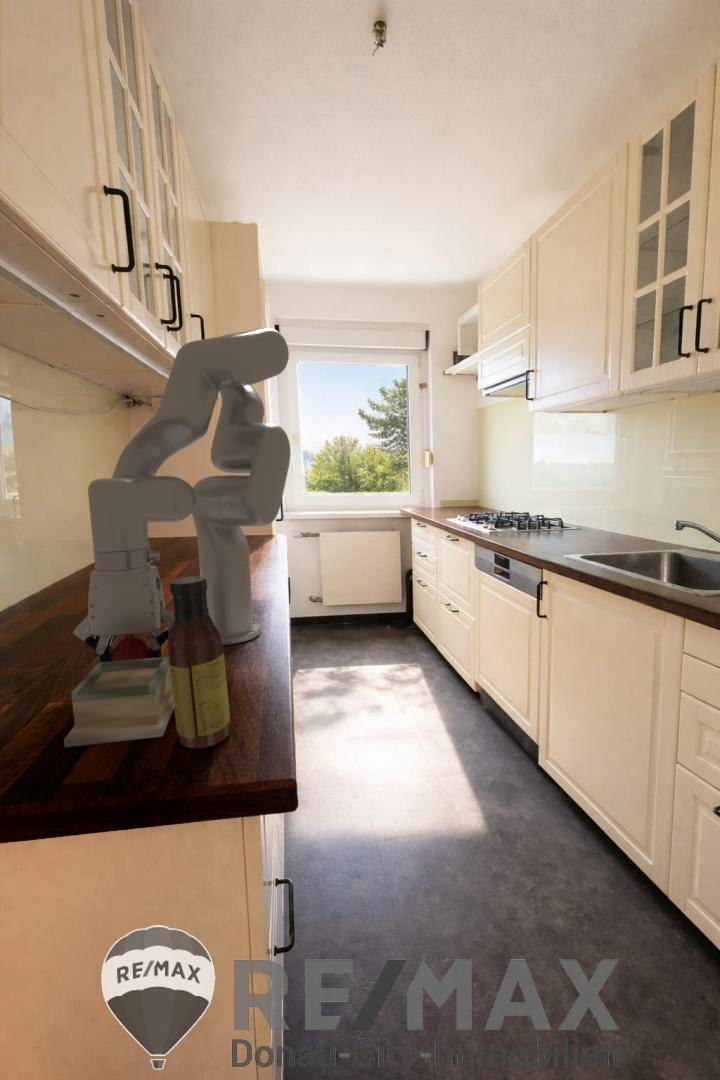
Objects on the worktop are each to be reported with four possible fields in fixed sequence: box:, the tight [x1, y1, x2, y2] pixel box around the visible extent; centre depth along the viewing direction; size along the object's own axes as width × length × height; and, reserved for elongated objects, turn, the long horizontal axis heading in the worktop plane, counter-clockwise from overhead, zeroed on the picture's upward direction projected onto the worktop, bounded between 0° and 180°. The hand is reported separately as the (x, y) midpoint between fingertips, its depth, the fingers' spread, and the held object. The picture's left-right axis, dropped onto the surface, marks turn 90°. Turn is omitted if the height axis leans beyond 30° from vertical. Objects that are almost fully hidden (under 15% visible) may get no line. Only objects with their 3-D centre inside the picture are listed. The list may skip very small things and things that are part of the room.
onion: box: [111, 635, 150, 661], centre depth 74 cm, size 6×6×8 cm
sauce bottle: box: [166, 575, 231, 750], centre depth 57 cm, size 7×6×20 cm
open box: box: [63, 656, 175, 748], centre depth 63 cm, size 12×11×6 cm
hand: (132, 672), depth 74 cm, fingers closed on onion, 5 cm apart
